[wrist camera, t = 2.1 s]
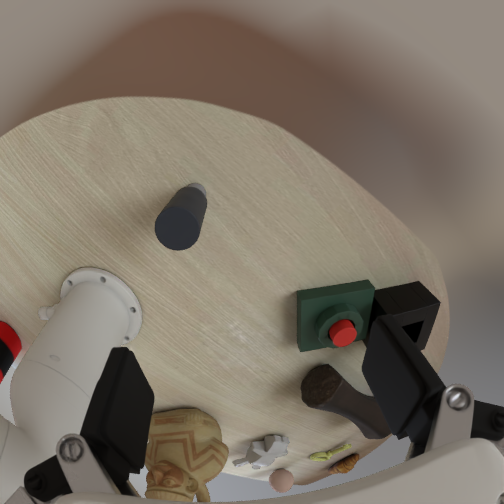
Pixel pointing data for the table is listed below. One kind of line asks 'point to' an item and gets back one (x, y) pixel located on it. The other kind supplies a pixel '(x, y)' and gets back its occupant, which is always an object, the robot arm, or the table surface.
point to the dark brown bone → (343, 401)
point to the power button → (342, 333)
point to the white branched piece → (264, 452)
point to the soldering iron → (182, 218)
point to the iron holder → (407, 310)
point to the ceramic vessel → (183, 455)
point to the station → (332, 312)
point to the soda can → (8, 348)
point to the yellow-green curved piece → (330, 453)
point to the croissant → (344, 465)
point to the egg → (281, 480)
